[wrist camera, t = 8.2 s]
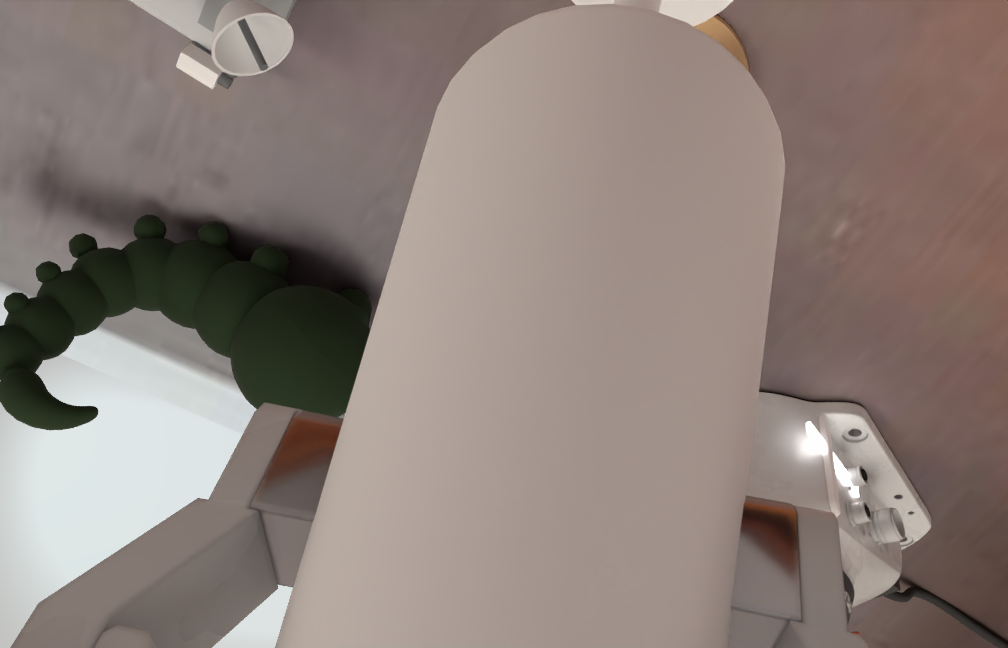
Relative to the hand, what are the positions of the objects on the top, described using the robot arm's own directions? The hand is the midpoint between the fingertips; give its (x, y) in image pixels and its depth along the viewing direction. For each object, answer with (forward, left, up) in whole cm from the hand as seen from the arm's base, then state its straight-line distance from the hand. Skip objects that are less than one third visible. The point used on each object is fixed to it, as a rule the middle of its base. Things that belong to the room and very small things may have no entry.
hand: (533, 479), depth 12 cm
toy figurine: (-3, +41, -37) cm, 55 cm away
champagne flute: (0, 0, -20) cm, 20 cm away
